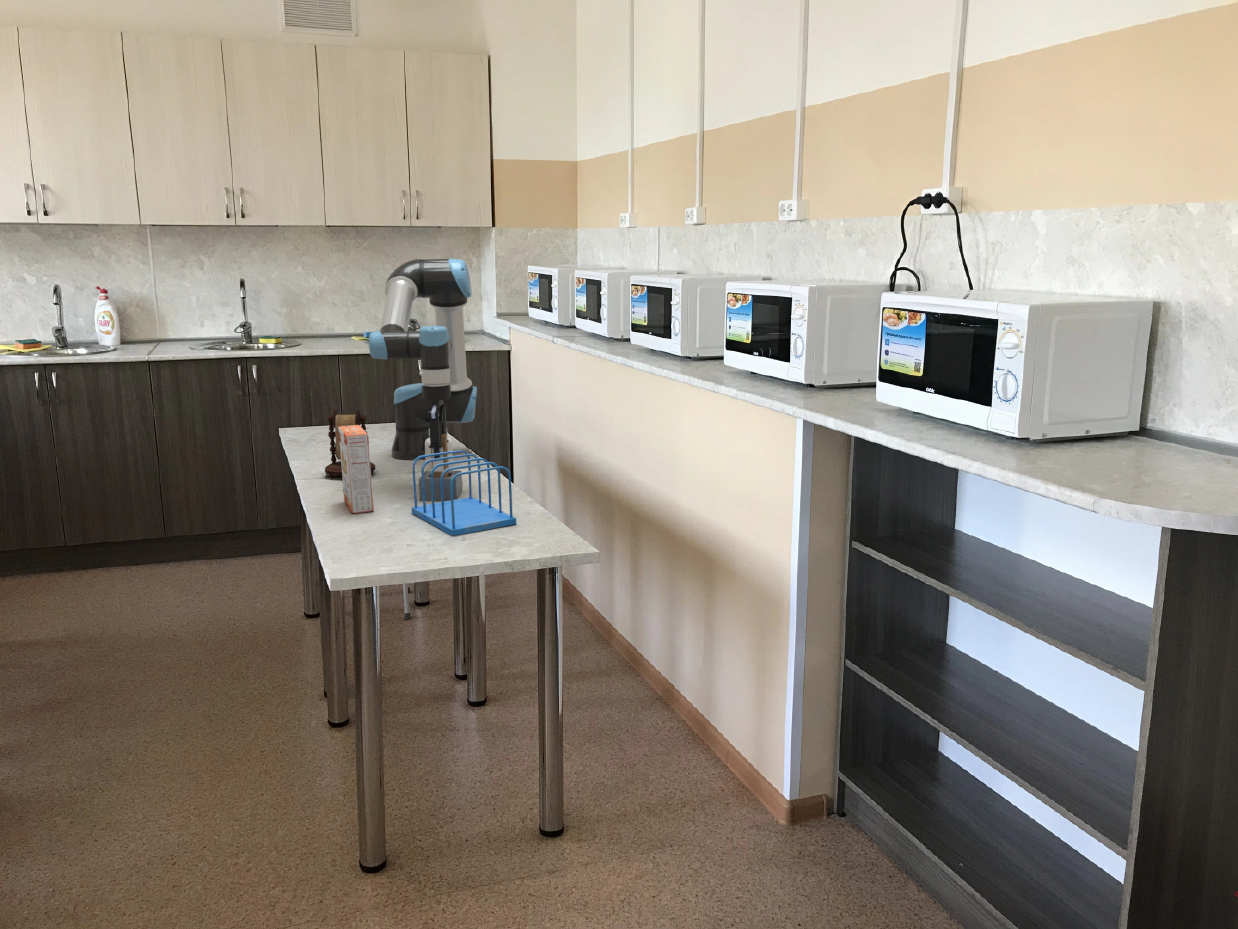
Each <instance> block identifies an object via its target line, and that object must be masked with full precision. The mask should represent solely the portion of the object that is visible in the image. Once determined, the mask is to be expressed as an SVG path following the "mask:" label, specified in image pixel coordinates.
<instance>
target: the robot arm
mask: <svg viewBox="0 0 1238 929" xmlns="http://www.w3.org/2000/svg"><path fill="white" fill-rule="evenodd" d="M384 289H385V290H384V292H385V296H386V299H385V305H384V308H383V314H382V319H381V324H380V329H379V330H377V331H372V332H371V333H370V334H369V336H368V348H369V355H370V356H371V358H372V359H375V360H379V359H380V360H401V359H404V360H405V359H406V360H407V359H411V360H412V359H420V368H421V371H419V374H418V375H419V376H421V382H420V383H418V382H417V383H412V384H406V385H403V386H400V387H398V388H396V389H395V390H394V392H393V405H394V417H395V418H394V419H395V422H394V424H395V435H394V439H393V443H392V445H391V446H392V447H391V457H392V458H394V459H397V460H415V459H416V458H417V457H419V456H422V455H425V441H426V439H428V438H430V446H429V448H432V454H435V453H442V452H443V447H442V445H441V434H447V435H448V429H447V424H455V423H456V424H462V423H471V422H472V421H473V420H474V419H475V415H476V403H477V394H478V393H477V392H478V391H477V390H478V388H477V386H474V385H473V381H472V380H471V379H470V378H469V377H468V374H467V372H468V371H467V357H466V356H467V355H466V340H465V339H466V338H465V324H464V323H465V322H464V309H463V308H464V306H466V305H467V304H468V299H469V298H471V297H472V293H473V292H472V286H471V277H470V272H469V268H468V265H467V263H466V262H465V261H464V259H459V258H457V259H456V258H434V259H433V258H430V259H425V258H423V259H420V258H419V259H418V258H415V259H412V260H409V261H406V262H403V263H402V264H401V265H399V266H397V267H396V268H395V269H394V270H393V271H392V272H391V274H389V276H388V278H387V279H386V283H385V286H384ZM417 298H419V299H421V298H422V299H423V298H424V299H429V305H430V306H431V307H433V308H434V312H435V314H434V315H435V325H427V326H421V327H420V329H419V330H415V331H414V330H412V331H411V330H409V325H410V320H411V314H412V306H413V303H414V302H415V300H417ZM429 429H430V436H429ZM446 429H447V430H446ZM448 442H449V440H447V443H448ZM432 457H433V459H436V458H443V455H437V456H432ZM422 459H425V457H424V458H420V459H419V460H422ZM441 463H443V460H439V461H433V467H434V466H436V465H437V464H441ZM434 471H444V467H443V466H439V467H437V468H436V469H435V470H434Z"/></svg>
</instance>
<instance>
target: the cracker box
mask: <svg viewBox="0 0 1238 929" xmlns="http://www.w3.org/2000/svg"><path fill="white" fill-rule="evenodd" d="M338 431H339V442H340V454H341V460H340V461H341V467H342V476H341V477H342V478H341V479H342V488H343V489H342V490H343V500H344V503H345V504H346V505H347V508H348V510H349V511H350V512H351V514H352V513H357V514H363V513H370V512H371V511H372V512H374V498H373V497H374V496H373V488H372V486H373V484H372V483H373V482H372V472H371V468H370V462H371V459H370V457H371V456H370V442H369V441H370V440H369V434H368V432H367V433H366V432H365V431H366V430H365V431H364V430H363V429H362V428H361V424H360V425H351V426H340V427H338ZM362 512H363V513H362Z"/></svg>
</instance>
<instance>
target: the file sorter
mask: <svg viewBox="0 0 1238 929" xmlns="http://www.w3.org/2000/svg"><path fill="white" fill-rule="evenodd" d="M452 453H453V454H458V453H459V454H460V453H463V454H460V455H459V454H458V455H453V456H450V457H443V458H436V459H430V460H428V461H424V463H423V464H422V466H421V470H420V471H421V476H422V493H423V501H422V504H421V505H418V499H417V498H418V497H417V496H418V495H417V483H416V463H417V462H418V460H421V459H420V458H424V457H431V456H437V455H444V454H452ZM466 457H467V459H462V460H455V461H454V459H458V458H466ZM471 457H473V458H471ZM424 459H425V458H424ZM446 459H453V462H447V463H441V464H437V465H436V466H434V467H433V469H432V470H431V495H432V501H431V503H428V504H426V501H425V484H424V472H425V469H426V465H427V464H428V463H429V462H433V461H439V460H446ZM482 461H483V462H482ZM471 462H477V463H474V464H473V463H472V464H471ZM462 463H467V464H466V465H460V466H459V465H458V466H453V467H452V468H448V469H446V470H445V471H444V472H443V473H442V475H441V478H440V485H441V501H438V502H435V501H434V486H433V472H434V470H435V469H436V468H437V467H439V466H444V465H450V464H453V465H455V464H462ZM490 465H493V466H494V467H490ZM481 466H486V468H481ZM475 467H477V469H474V470H473V469H472V470H471V468H475ZM467 468H468V469H467ZM462 469H467V470H468V471H467V470H466V471H463V472H462V471H461V473H457V474H456V475H454V476H453V478H452V479H451V482H450V493H451V501H444V494H443V476H444V474H445V473H446V472H448V471H450V470H453V471H457V470H462ZM502 469H503V470H505V471H506V473H507V476H508V495H509V496H508V497H509V498H508V500H509V513H507V512H504V511H502V510H503V507H502V487H501V486H502V484H501V483H502V482H501V470H502ZM493 470H497V485H498V486H497V489H498V491H497V492H498V507H499V509H498V508H496V507H494V506H492V493H491V492H492V491H491V489H492V488H491V471H493ZM482 472H487V488H488V490H487V491H488V495H487V496H488V503H486V502H484V501H482V483H481V482H482V479H481V473H482ZM475 473H477V483H478V499H477V498H476V497H474V496H473V494H472V474H475ZM459 475H462V476H463V475H468V488H469V489H468V492H469V493H468V494H469V497H464V498H458V499H457V500H453V481H454V479H455V478H456V477H457V476H459ZM421 476H420V477H421ZM412 482H413V483H412V484H413V486H412V487H413V500H414V501H413V502H414V506H412V507H411V514H412V515H415V516H416V515H417V517H418V518H420V519H421V520H423V521H425V522H427V523H429V524H430V523H431V525H432V526H433V527H435V528H437V529H439V528H440V529H439V530H441V531H443V532H444V533H446V534H448V535H449V534H450V536H451V535H453V536H452V537H455V536H454V535H456V536H460V535H459V534H461V535H466V534H471V533H477V532H483V531H485V530H486V531H487V530H491V529H498V528H503V527H509V526H513V525H516V524H517V517H515V516H513V496H512V495H513V494H512V491H513V490H512V476H511V471H510V470H509V468H507V467H505V466H501V465H498V464H497V463H495V462H493V461H488V460H487V459H485V458H482V457H478V456H477V455H476V454H473V453H468V452H467V451H465V450H463V449H461V450H460V449H459V450H452V451H450V452H442V453H435V454H428V455H422V456H419V457H417V458H416V459H413V462H412Z"/></svg>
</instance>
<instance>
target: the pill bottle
mask: <svg viewBox="0 0 1238 929" xmlns="http://www.w3.org/2000/svg"><path fill="white" fill-rule="evenodd" d="M446 430H447V431H448V428H446ZM429 436H430V429H429ZM447 440H449V442H448V443H447V445H448V452H450V451H453V441H452V438H450V437H448V436H447ZM429 446H430V438H428V439H426V441H425V455H428V454H431V448H429ZM450 456H454V453H452V454H448V457H450ZM424 459H425V461H424V462H426V461H428V460H430V459H431V457H425V458H424ZM448 462H454V458H453V459H448ZM452 467H454V464H450V465H448V468H452ZM431 470H432V462H429V463H428V464H427V465H426V466H425V471H431ZM450 471H454V470H450Z"/></svg>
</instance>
